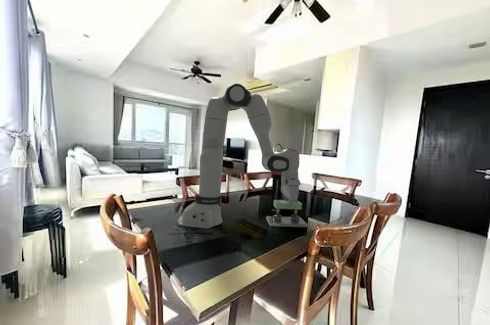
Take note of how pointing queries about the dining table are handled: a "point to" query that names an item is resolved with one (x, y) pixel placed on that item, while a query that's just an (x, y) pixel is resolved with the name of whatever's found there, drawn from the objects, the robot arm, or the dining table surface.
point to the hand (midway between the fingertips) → (287, 204)
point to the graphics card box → (276, 191)
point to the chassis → (286, 220)
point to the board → (287, 204)
